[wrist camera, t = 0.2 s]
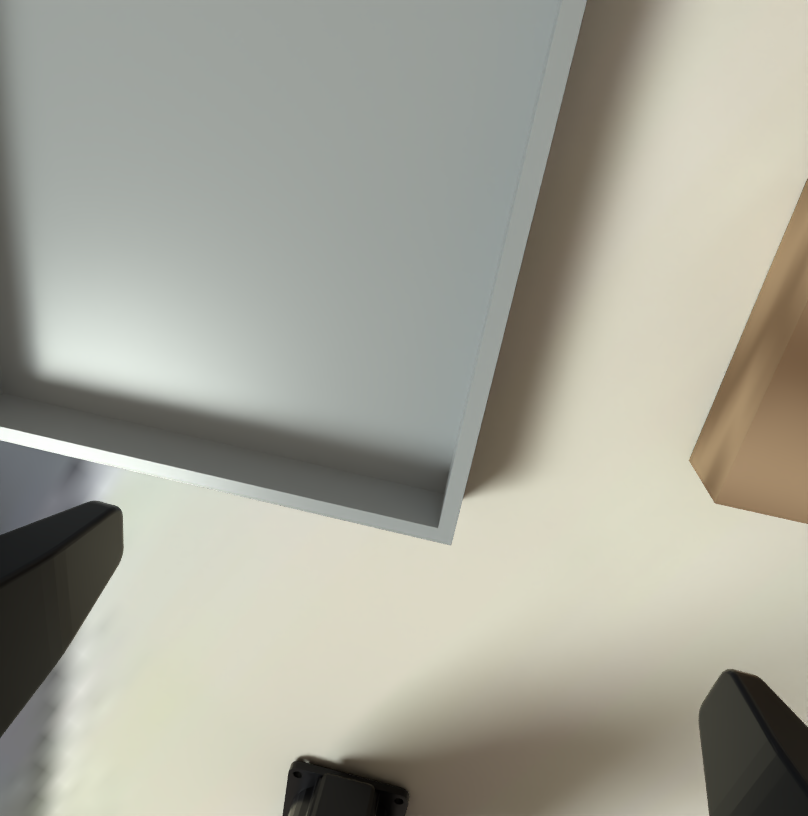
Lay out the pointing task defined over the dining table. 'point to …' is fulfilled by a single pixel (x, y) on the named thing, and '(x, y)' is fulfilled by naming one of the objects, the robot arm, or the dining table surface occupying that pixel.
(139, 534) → the dining table surface
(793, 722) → the robot arm
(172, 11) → the tray
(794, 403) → the socket block
